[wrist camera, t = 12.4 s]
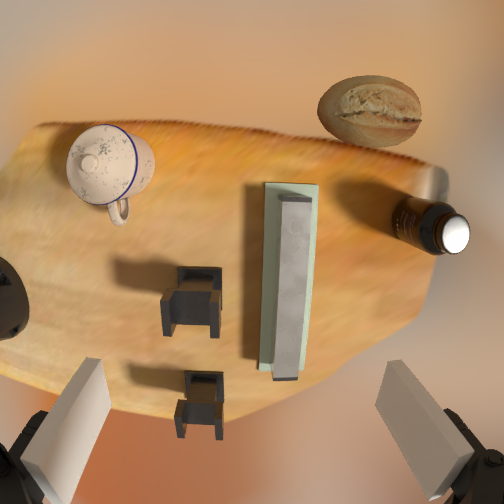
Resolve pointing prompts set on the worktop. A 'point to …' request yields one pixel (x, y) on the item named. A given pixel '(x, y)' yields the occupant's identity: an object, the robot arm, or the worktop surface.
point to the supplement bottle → (430, 226)
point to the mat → (270, 261)
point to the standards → (209, 313)
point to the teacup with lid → (109, 168)
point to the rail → (290, 284)
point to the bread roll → (370, 111)
